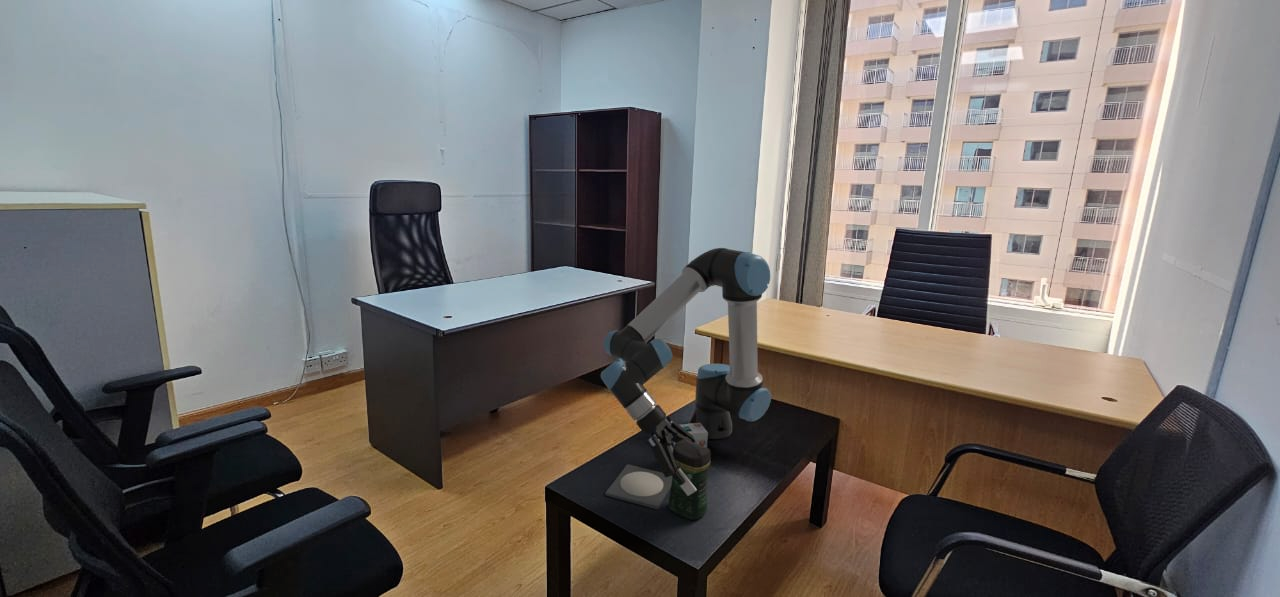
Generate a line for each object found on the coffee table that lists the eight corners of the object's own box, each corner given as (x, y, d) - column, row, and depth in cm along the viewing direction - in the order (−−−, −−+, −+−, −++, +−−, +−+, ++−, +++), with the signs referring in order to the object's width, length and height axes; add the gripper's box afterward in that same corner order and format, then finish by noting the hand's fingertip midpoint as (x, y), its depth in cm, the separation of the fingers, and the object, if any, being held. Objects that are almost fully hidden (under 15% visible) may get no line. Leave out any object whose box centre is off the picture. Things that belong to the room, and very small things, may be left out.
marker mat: (627, 466, 157) (627, 463, 157) (675, 478, 152) (675, 475, 152) (605, 495, 143) (605, 492, 142) (658, 509, 138) (658, 506, 137)
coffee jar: (711, 511, 138) (717, 446, 134) (694, 525, 132) (700, 457, 128) (680, 496, 144) (685, 433, 140) (663, 509, 138) (667, 444, 134)
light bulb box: (672, 468, 158) (675, 435, 155) (665, 456, 164) (668, 424, 162) (706, 464, 161) (709, 432, 158) (698, 453, 167) (700, 422, 165)
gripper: (651, 402, 149) (699, 463, 148) (618, 440, 127) (674, 512, 125) (670, 388, 147) (720, 450, 145) (639, 424, 124) (697, 498, 122)
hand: (699, 479), depth 135 cm, fingers open, 12 cm apart
